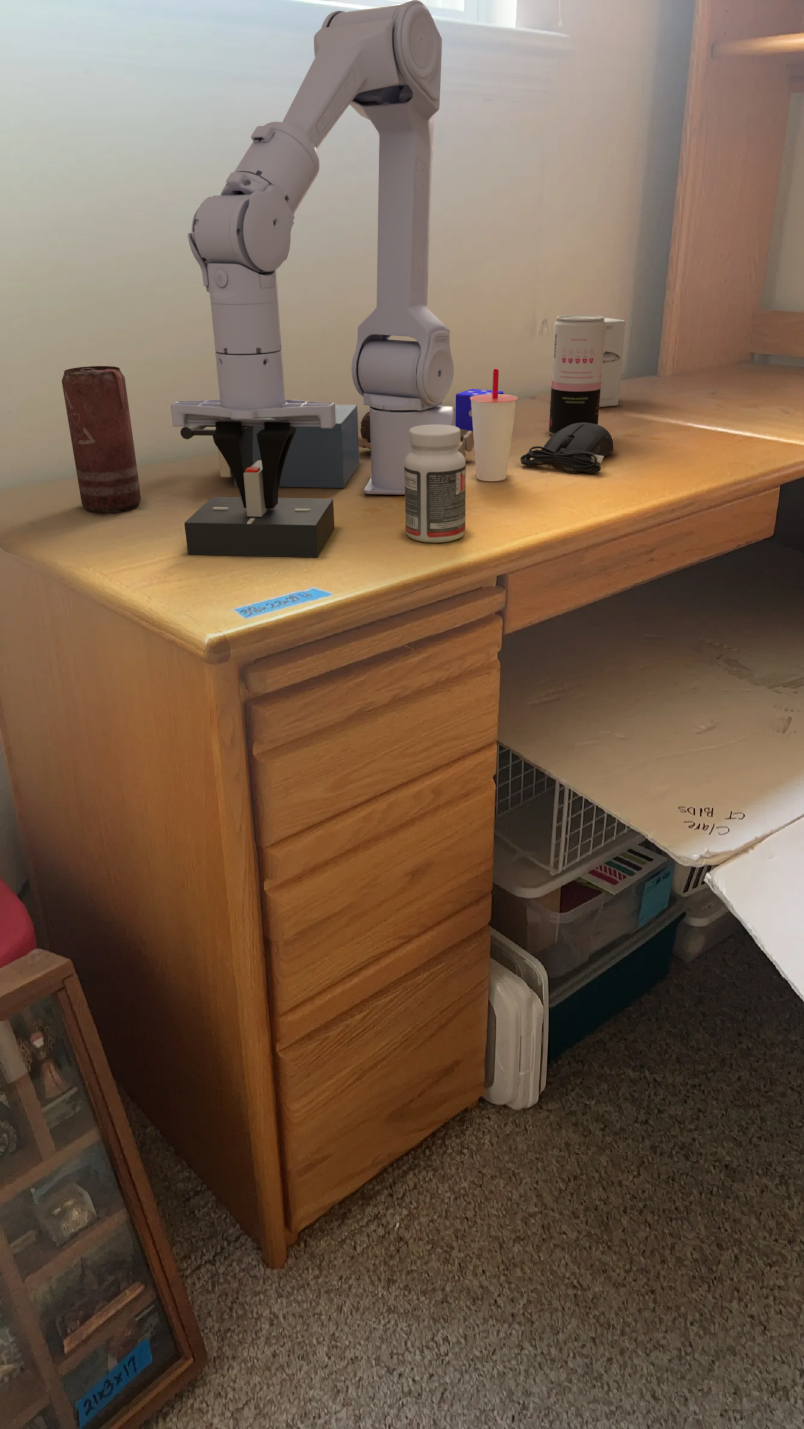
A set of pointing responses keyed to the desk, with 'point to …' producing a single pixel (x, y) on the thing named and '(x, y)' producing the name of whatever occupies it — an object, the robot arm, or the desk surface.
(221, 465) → the drawer
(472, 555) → the desk surface
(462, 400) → the die
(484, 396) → the cup
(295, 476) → the compartment
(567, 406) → the beverage can
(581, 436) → the computer mouse
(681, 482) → the desk surface
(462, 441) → the figurine
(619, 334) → the white packaging box
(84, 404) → the can
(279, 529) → the control panel
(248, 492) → the grey block
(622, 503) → the desk surface
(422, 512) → the pill bottle
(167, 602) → the desk surface
